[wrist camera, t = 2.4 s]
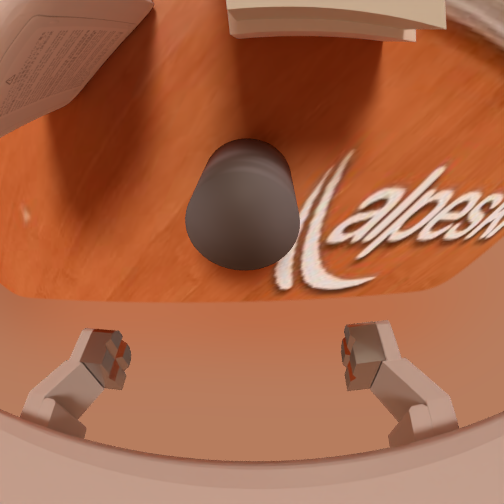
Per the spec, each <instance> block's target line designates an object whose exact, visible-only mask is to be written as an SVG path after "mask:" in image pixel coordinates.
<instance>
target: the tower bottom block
mask: <svg viewBox="0 0 504 504" xmlns="http://www.w3.org/2000/svg"><path fill="white" fill-rule="evenodd" d="M228 20H229V30H230V35H232V36H233V37H235V38H237V39H243V38H256V37H275V36H326V37H344V38H357V39H367V40H376V41H405V42H416V29H412V30H402V29H397V28H392V27H386V26H380V25H373V24H365V23H357V22H348V21H337V20H322V19H255V20H240V21H236V20H235V19H234V17H233V16H232V15H231V14H230V13H229V11H228Z"/></svg>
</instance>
